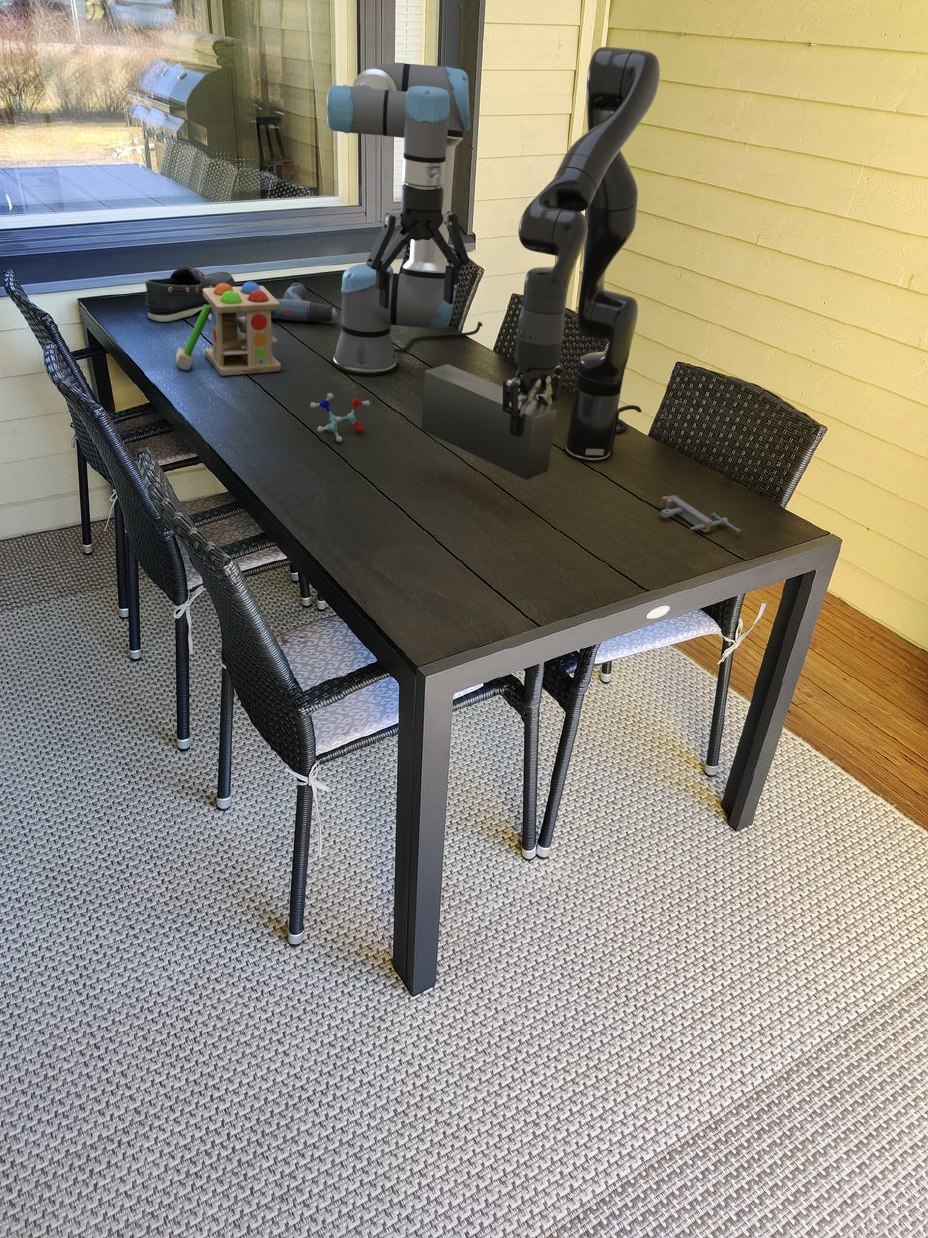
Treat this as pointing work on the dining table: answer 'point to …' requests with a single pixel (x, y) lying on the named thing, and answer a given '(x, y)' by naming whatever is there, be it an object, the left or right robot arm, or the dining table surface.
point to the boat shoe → (181, 293)
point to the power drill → (301, 307)
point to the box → (486, 421)
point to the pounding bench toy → (229, 347)
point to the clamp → (672, 508)
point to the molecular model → (335, 420)
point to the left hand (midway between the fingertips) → (416, 304)
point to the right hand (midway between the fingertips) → (528, 430)
